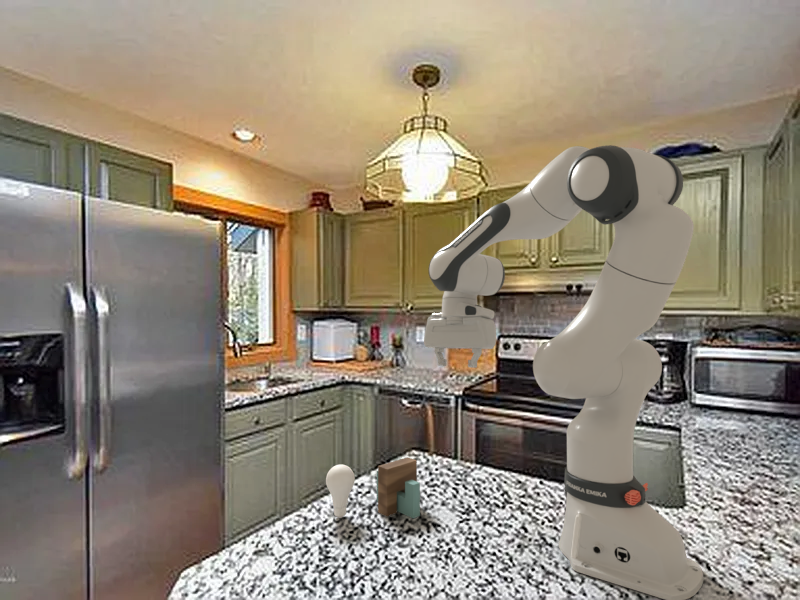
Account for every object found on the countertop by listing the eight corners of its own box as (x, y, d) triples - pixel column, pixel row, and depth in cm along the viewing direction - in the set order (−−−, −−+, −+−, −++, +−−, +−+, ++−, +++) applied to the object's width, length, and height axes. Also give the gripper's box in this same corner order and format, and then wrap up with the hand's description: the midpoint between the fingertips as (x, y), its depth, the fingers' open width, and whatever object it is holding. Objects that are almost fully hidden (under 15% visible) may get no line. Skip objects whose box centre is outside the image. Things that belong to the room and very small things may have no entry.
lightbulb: (349, 525, 92) (349, 470, 93) (321, 522, 93) (321, 468, 94) (358, 512, 98) (358, 461, 99) (331, 510, 99) (331, 459, 100)
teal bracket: (419, 515, 97) (419, 482, 97) (413, 518, 95) (413, 484, 96) (383, 499, 105) (383, 469, 106) (376, 501, 104) (376, 470, 104)
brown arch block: (416, 504, 102) (416, 460, 103) (387, 516, 96) (387, 469, 97) (407, 500, 105) (407, 457, 105) (378, 512, 98) (378, 465, 99)
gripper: (420, 311, 119) (417, 364, 117) (485, 307, 105) (483, 367, 103) (435, 315, 124) (433, 365, 122) (500, 311, 109) (498, 369, 107)
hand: (456, 366), depth 112 cm, fingers open, 8 cm apart
